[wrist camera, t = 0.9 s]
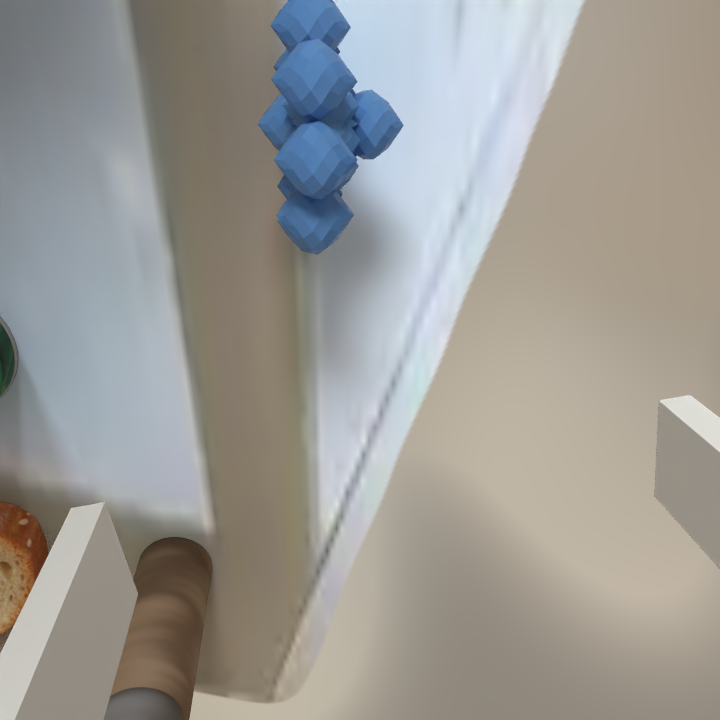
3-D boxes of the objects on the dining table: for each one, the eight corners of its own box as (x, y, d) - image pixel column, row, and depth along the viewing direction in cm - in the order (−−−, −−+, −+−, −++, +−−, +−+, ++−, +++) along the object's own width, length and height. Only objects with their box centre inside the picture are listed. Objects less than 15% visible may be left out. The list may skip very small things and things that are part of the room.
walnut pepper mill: (123, 568, 46) (55, 770, 32) (172, 524, 45) (123, 712, 31) (179, 606, 47) (136, 812, 34) (227, 564, 47) (203, 759, 33)
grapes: (383, 226, 39) (422, 281, 28) (266, 227, 38) (258, 284, 27) (388, 1, 34) (438, -40, 23) (257, -2, 34) (243, -47, 22)
